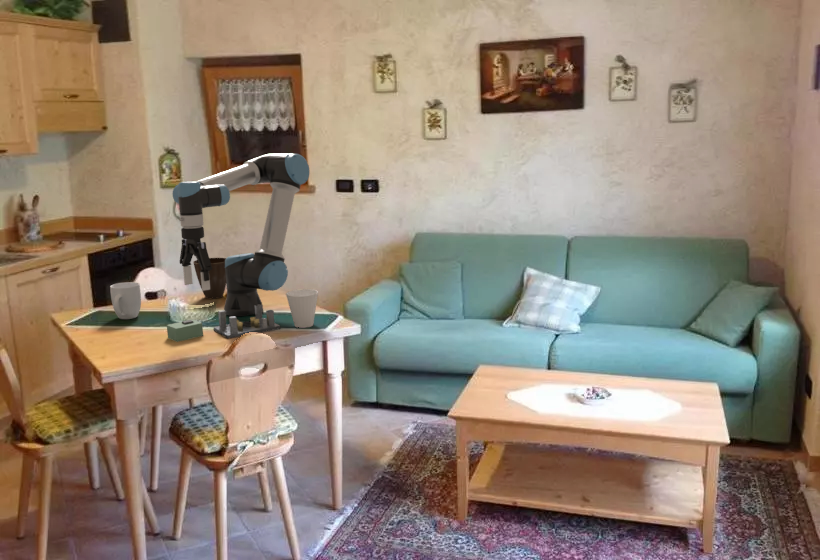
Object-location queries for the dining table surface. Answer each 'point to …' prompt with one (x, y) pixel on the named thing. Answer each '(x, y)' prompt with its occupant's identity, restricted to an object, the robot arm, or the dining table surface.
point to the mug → (126, 299)
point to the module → (184, 330)
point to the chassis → (246, 324)
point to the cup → (302, 306)
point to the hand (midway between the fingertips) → (197, 287)
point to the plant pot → (214, 277)
